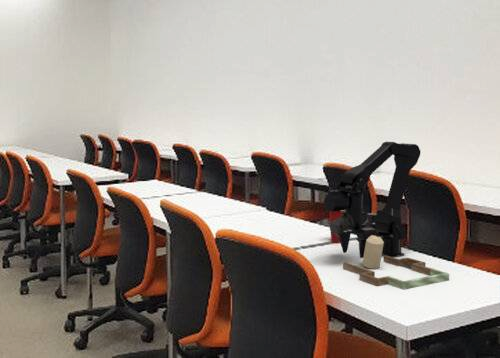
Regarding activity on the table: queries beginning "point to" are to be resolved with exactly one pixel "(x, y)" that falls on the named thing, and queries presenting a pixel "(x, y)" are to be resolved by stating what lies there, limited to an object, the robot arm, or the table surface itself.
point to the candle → (373, 252)
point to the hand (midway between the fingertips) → (353, 255)
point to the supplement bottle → (371, 221)
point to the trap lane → (404, 262)
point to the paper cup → (333, 216)
